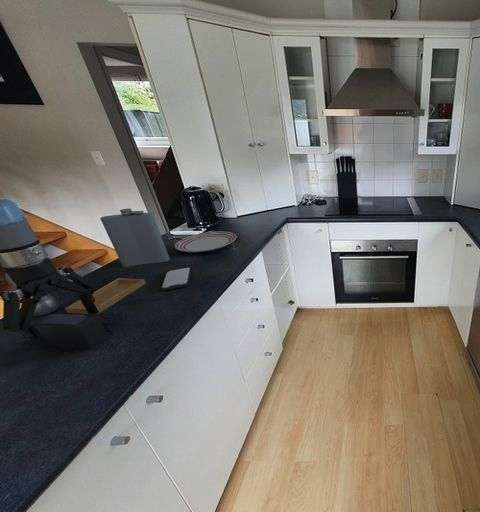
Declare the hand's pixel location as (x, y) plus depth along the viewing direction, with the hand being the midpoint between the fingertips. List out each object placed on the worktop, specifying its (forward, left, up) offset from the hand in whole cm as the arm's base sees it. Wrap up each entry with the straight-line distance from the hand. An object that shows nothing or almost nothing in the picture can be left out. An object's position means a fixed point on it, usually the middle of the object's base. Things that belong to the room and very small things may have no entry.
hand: (70, 328), depth 78 cm
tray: (-12, +22, -5) cm, 26 cm away
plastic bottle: (-25, +12, -5) cm, 28 cm away
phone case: (+4, +35, -5) cm, 36 cm away
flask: (-21, +49, -5) cm, 54 cm away
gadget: (0, 0, -5) cm, 5 cm away
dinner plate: (-5, +69, -5) cm, 69 cm away
